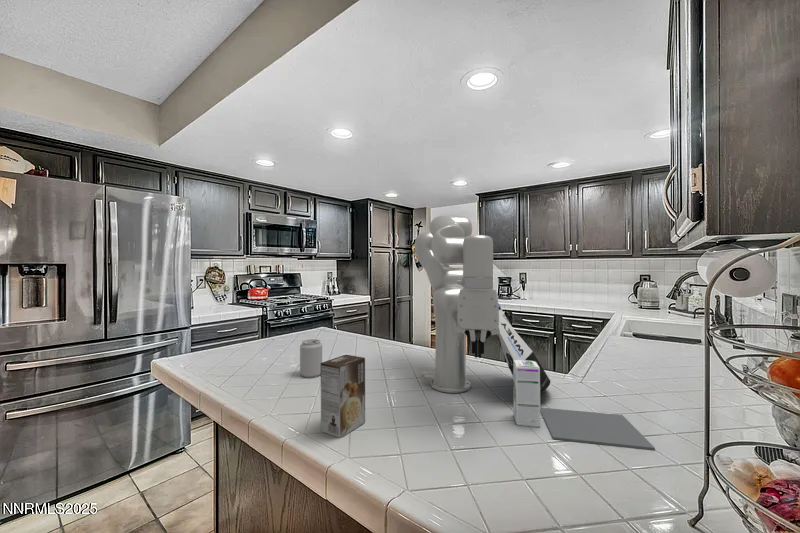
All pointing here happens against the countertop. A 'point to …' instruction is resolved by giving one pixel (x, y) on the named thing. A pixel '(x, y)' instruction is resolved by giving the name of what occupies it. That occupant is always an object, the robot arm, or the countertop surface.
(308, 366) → the can
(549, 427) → the mat
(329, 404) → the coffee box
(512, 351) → the protein powder
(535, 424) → the syrup box
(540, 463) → the countertop surface
